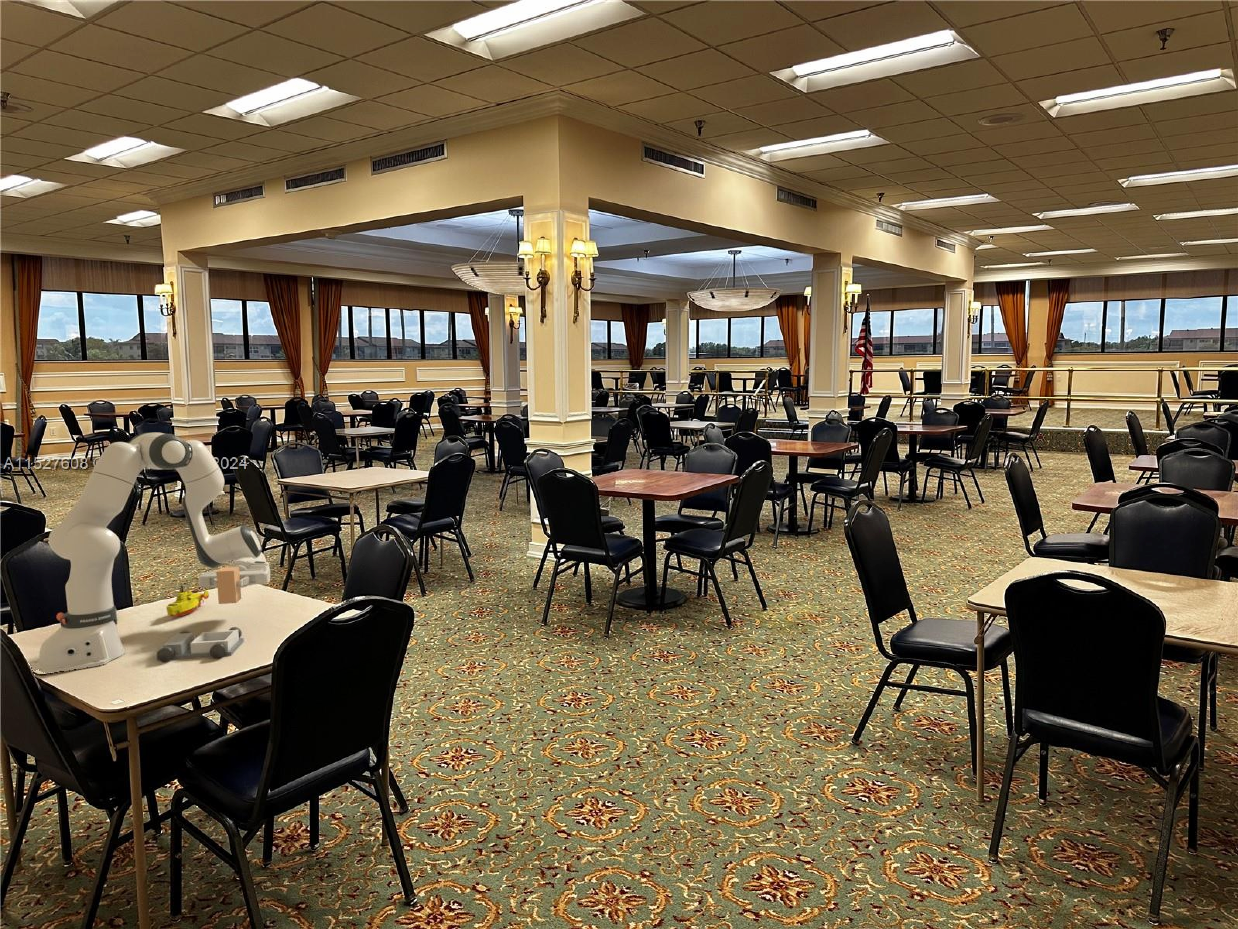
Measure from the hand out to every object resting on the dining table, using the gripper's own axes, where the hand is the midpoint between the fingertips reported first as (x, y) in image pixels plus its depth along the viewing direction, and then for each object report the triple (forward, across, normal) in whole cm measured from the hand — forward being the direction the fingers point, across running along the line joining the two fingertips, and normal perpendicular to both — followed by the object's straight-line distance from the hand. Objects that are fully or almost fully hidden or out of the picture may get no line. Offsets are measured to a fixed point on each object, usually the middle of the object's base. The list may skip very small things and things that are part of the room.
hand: (227, 584), depth 250 cm
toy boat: (-30, -23, +17) cm, 42 cm away
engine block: (-1, 0, +6) cm, 6 cm away
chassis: (+11, -5, +17) cm, 20 cm away
